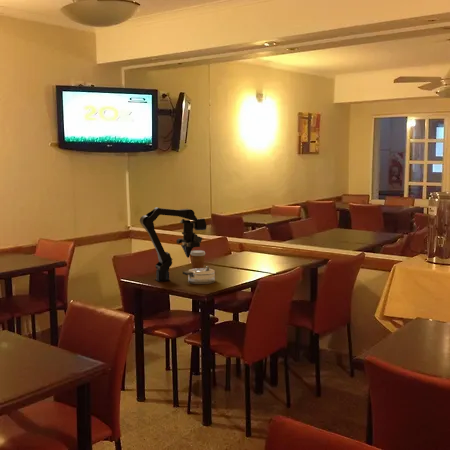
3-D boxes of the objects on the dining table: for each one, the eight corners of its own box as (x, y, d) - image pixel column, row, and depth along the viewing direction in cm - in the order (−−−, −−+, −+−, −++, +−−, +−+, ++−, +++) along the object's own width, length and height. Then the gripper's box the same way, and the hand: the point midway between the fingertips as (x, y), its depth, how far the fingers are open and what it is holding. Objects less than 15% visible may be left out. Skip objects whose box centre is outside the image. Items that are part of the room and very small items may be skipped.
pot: (196, 285, 318) (196, 276, 318) (182, 280, 331) (182, 271, 331) (220, 282, 327) (220, 273, 326) (205, 277, 340) (205, 269, 339)
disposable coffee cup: (187, 271, 358) (187, 251, 357) (195, 268, 367) (195, 249, 365) (200, 272, 354) (200, 253, 352) (208, 269, 362) (208, 250, 361)
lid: (191, 276, 316) (191, 271, 316) (178, 272, 329) (178, 266, 328) (219, 273, 326) (219, 268, 326) (205, 268, 339) (205, 263, 338)
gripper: (208, 231, 330) (208, 258, 332) (192, 228, 346) (192, 254, 348) (191, 232, 325) (190, 260, 326) (176, 229, 340) (176, 255, 342)
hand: (188, 257), depth 336 cm, fingers closed
